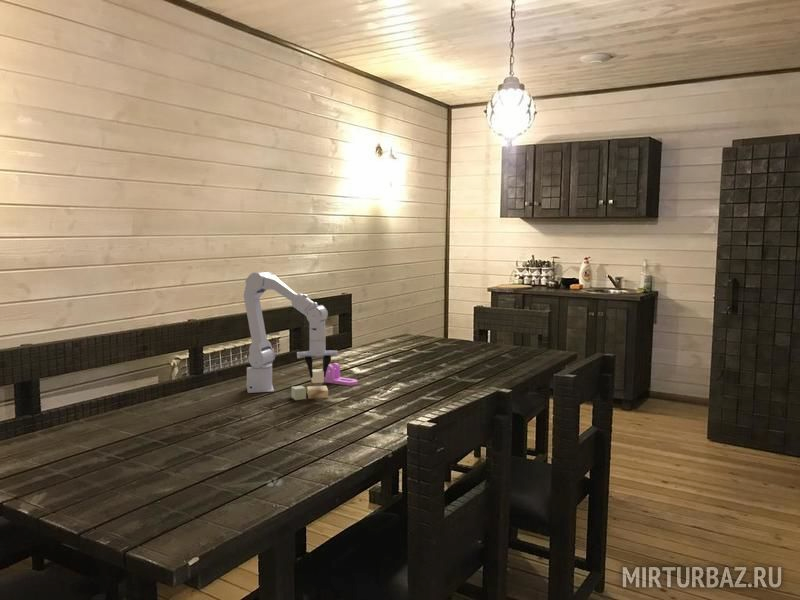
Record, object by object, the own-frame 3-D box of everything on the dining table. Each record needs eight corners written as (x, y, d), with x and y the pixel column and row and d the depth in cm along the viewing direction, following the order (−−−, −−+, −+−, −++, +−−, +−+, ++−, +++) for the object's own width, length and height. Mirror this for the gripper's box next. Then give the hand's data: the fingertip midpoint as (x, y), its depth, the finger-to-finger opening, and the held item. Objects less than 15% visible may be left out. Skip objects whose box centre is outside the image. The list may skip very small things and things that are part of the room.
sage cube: (295, 400, 224) (295, 389, 224) (291, 397, 228) (291, 386, 227) (306, 399, 226) (306, 388, 226) (302, 396, 230) (301, 385, 229)
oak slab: (308, 399, 227) (308, 391, 226) (307, 394, 233) (307, 386, 233) (328, 398, 228) (328, 390, 228) (326, 393, 235) (326, 385, 235)
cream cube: (312, 383, 228) (312, 372, 227) (311, 380, 232) (311, 369, 231) (323, 382, 229) (323, 371, 228) (322, 379, 233) (322, 369, 232)
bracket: (324, 382, 251) (324, 365, 250) (332, 379, 256) (332, 362, 255) (352, 386, 245) (352, 368, 244) (360, 383, 250) (360, 366, 249)
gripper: (298, 342, 223) (298, 380, 224) (339, 340, 226) (339, 378, 228) (296, 338, 229) (296, 375, 231) (336, 337, 233) (336, 373, 235)
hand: (317, 376), depth 230 cm, fingers closed on cream cube, 4 cm apart
